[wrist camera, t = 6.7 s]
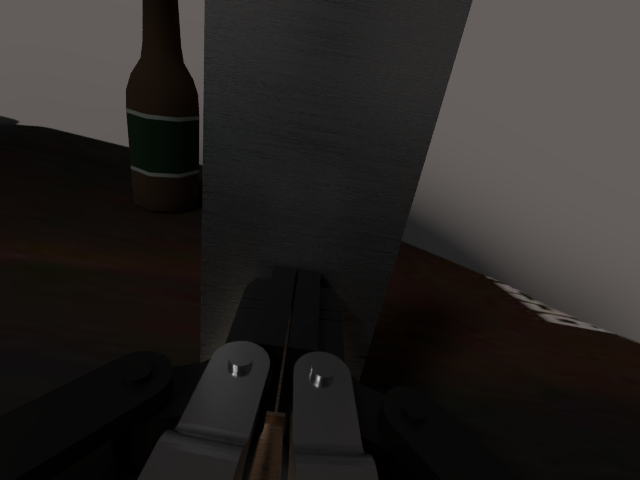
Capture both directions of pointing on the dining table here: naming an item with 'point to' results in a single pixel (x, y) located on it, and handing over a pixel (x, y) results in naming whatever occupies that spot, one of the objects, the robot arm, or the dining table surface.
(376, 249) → the grey l-shaped bracket
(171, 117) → the beer bottle
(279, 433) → the pipe
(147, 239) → the dining table surface
